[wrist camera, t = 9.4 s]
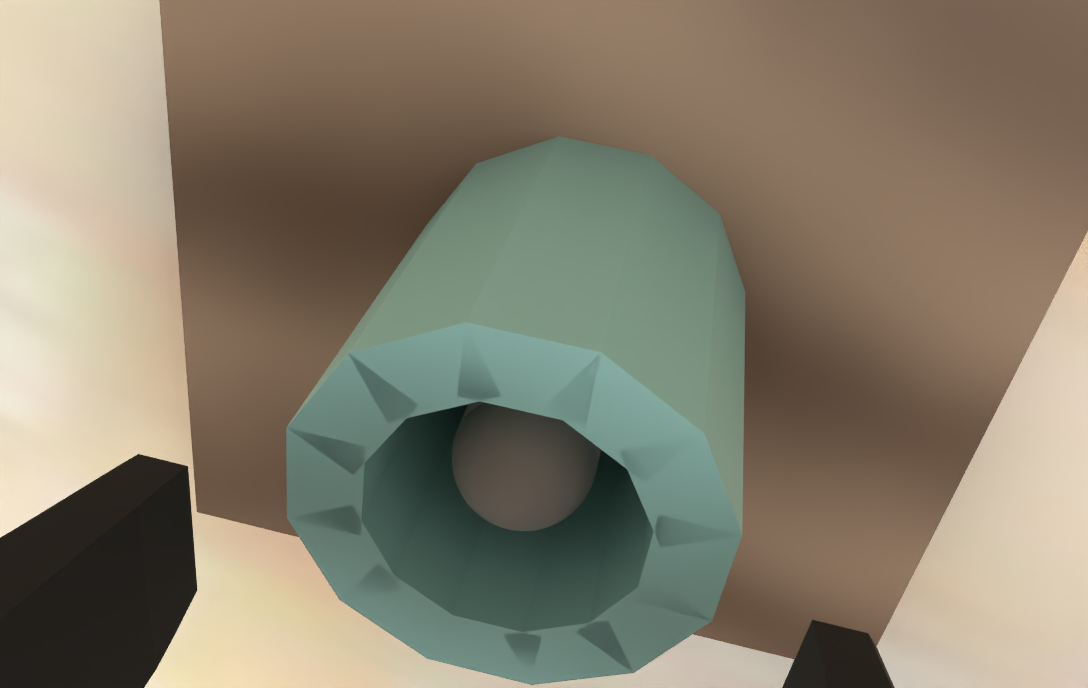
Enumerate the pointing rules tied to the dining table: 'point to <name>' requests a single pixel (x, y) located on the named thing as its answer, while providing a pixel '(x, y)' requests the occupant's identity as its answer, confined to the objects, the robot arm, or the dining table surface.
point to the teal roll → (545, 389)
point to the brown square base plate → (707, 169)
